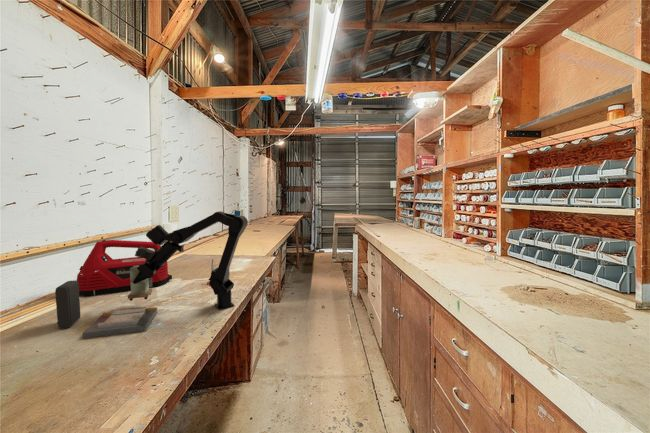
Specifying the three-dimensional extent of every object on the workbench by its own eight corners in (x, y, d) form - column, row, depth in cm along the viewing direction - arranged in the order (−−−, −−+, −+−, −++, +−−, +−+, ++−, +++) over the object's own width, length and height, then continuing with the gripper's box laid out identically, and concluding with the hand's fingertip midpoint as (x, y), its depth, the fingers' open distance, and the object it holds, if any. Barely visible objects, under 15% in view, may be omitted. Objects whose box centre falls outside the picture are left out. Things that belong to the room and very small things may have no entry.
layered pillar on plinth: (152, 294, 122) (151, 264, 121) (147, 299, 116) (146, 268, 115) (133, 295, 120) (132, 265, 119) (127, 301, 114) (126, 269, 113)
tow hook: (230, 283, 153) (217, 280, 157) (230, 260, 151) (217, 257, 155) (218, 288, 145) (205, 285, 149) (218, 263, 144) (205, 260, 148)
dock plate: (157, 312, 114) (157, 304, 114) (145, 331, 99) (145, 321, 98) (103, 318, 108) (103, 309, 108) (82, 338, 93) (81, 328, 93)
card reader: (68, 319, 108) (66, 280, 106) (82, 317, 109) (79, 279, 108) (56, 330, 99) (53, 287, 98) (70, 328, 100) (67, 286, 99)
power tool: (173, 285, 149) (171, 237, 147) (72, 300, 127) (68, 244, 125) (170, 277, 162) (169, 233, 160) (79, 290, 140) (75, 239, 138)
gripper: (154, 236, 126) (127, 263, 124) (141, 243, 108) (109, 274, 106) (175, 253, 129) (148, 279, 127) (165, 262, 111) (134, 293, 109)
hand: (135, 281), depth 117 cm, fingers closed on layered pillar on plinth, 5 cm apart
